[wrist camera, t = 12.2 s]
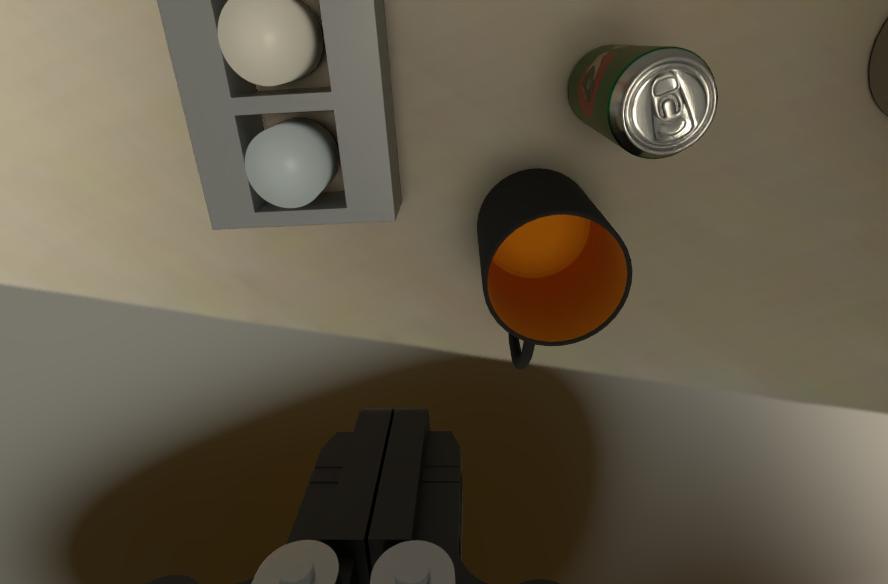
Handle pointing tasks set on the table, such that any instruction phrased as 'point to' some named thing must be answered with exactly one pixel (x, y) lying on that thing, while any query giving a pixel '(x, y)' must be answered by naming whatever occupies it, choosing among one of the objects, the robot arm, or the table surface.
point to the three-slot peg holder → (240, 107)
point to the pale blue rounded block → (291, 162)
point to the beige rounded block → (270, 40)
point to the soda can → (644, 97)
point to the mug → (549, 262)
